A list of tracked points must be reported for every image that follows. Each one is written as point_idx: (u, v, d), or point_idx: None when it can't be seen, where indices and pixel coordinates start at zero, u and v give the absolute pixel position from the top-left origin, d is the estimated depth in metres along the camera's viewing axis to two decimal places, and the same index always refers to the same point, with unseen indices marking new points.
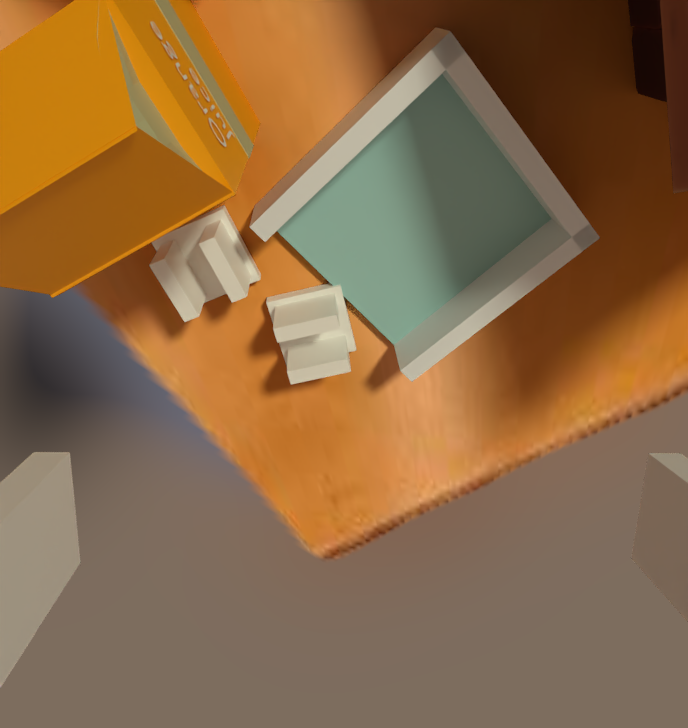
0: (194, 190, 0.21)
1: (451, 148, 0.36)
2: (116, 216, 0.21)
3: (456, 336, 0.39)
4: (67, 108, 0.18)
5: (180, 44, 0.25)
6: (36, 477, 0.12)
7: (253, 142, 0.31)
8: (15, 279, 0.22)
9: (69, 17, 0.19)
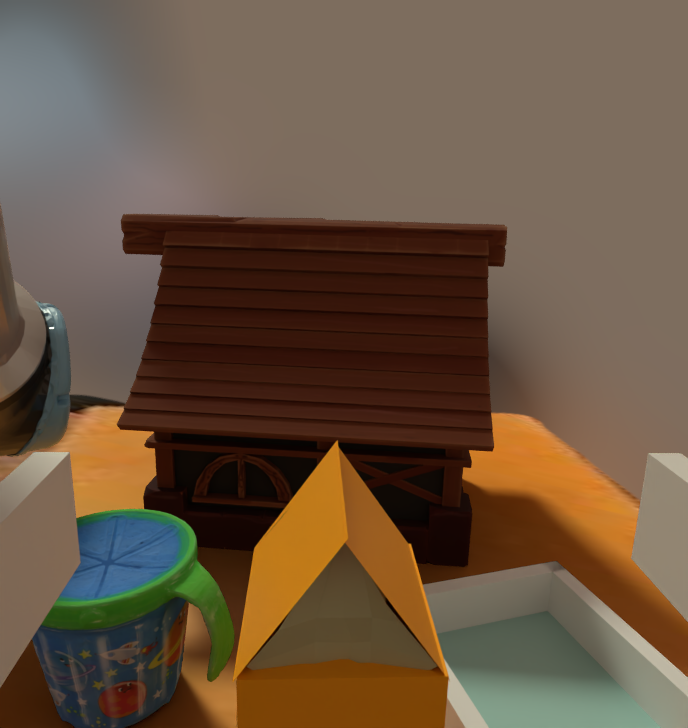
0: (393, 528, 0.29)
1: (471, 648, 0.43)
2: (385, 538, 0.26)
3: (647, 651, 0.38)
4: (307, 499, 0.27)
5: None
6: (36, 477, 0.12)
7: None
8: (405, 614, 0.22)
9: (259, 554, 0.28)
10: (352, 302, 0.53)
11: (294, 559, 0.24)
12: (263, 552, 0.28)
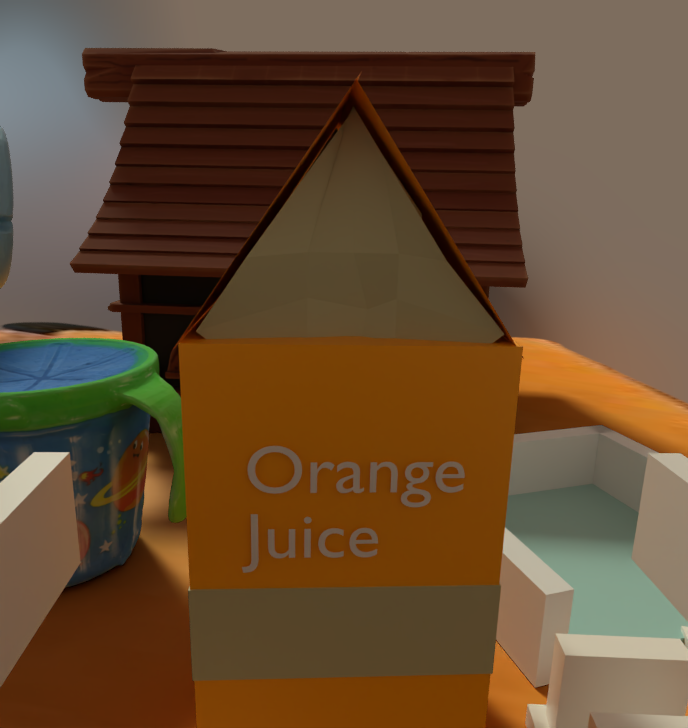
0: None
1: None
2: None
3: None
4: (296, 184, 0.19)
5: None
6: (36, 477, 0.12)
7: None
8: (452, 247, 0.14)
9: None
10: None
11: (275, 207, 0.15)
12: None
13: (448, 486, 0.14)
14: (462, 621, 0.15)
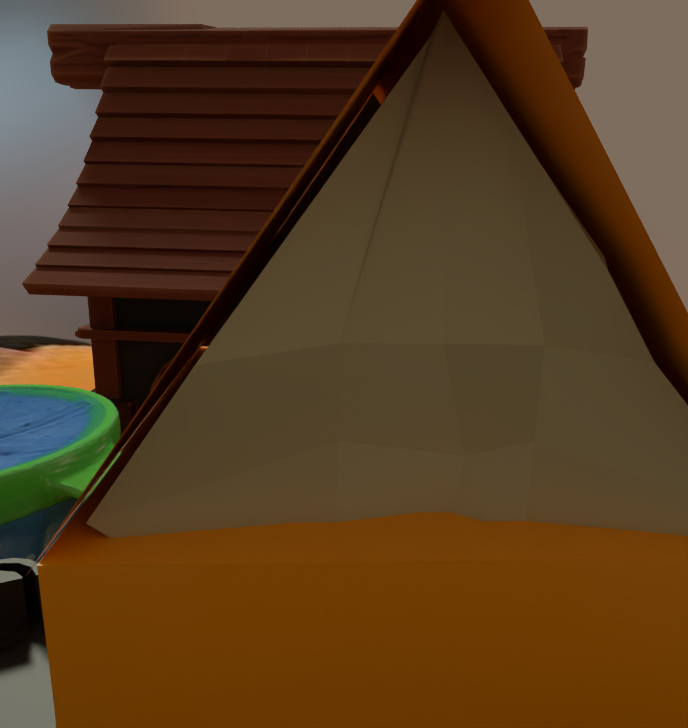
0: None
1: None
2: None
3: None
4: (306, 187, 0.11)
5: None
6: None
7: None
8: (668, 332, 0.06)
9: (199, 345, 0.12)
10: None
11: (269, 232, 0.08)
12: (206, 333, 0.12)
13: None
14: None
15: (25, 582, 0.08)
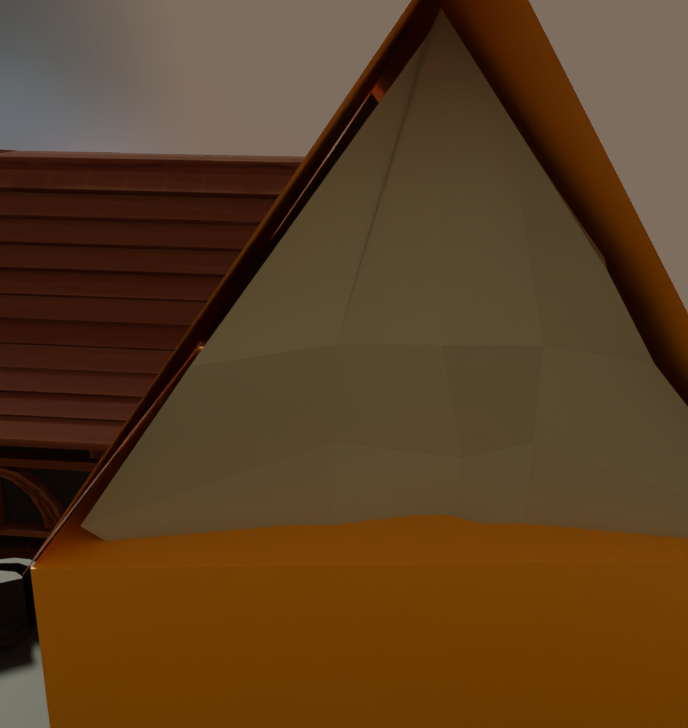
0: None
1: None
2: None
3: None
4: (304, 187, 0.11)
5: None
6: None
7: None
8: (668, 332, 0.06)
9: (196, 346, 0.12)
10: (139, 259, 0.39)
11: (266, 232, 0.08)
12: (204, 334, 0.12)
13: None
14: None
15: (25, 582, 0.08)
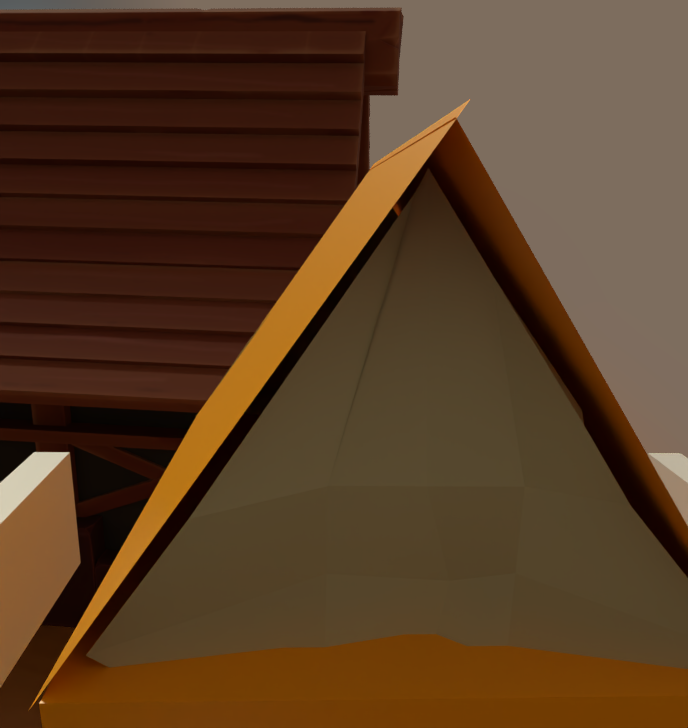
0: None
1: None
2: None
3: None
4: (305, 267, 0.11)
5: None
6: (37, 477, 0.12)
7: None
8: (643, 476, 0.06)
9: (201, 414, 0.13)
10: (104, 145, 0.28)
11: (265, 345, 0.08)
12: (207, 404, 0.12)
13: None
14: None
15: None
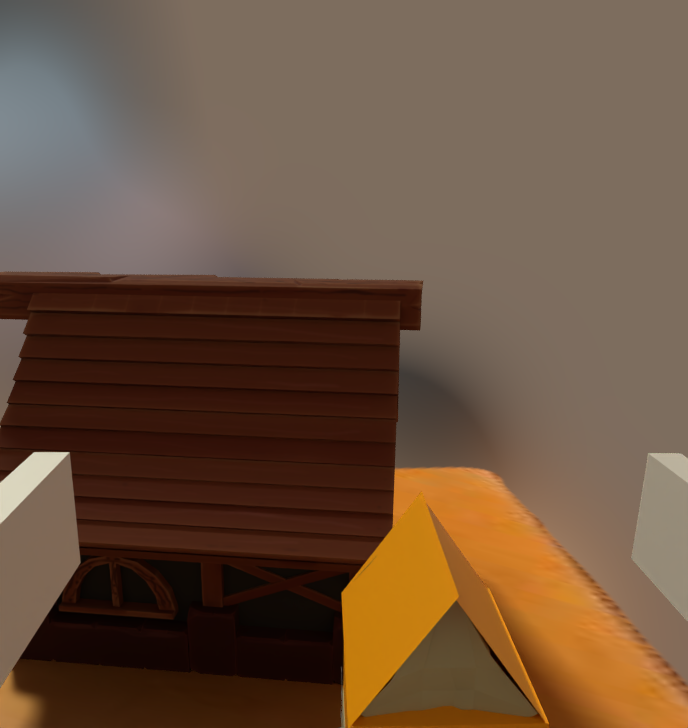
0: (474, 574, 0.31)
1: None
2: (474, 587, 0.28)
3: None
4: (397, 549, 0.29)
5: None
6: (36, 477, 0.12)
7: None
8: (507, 665, 0.23)
9: (349, 600, 0.30)
10: (241, 376, 0.45)
11: (396, 610, 0.25)
12: (354, 599, 0.30)
13: None
14: None
15: None
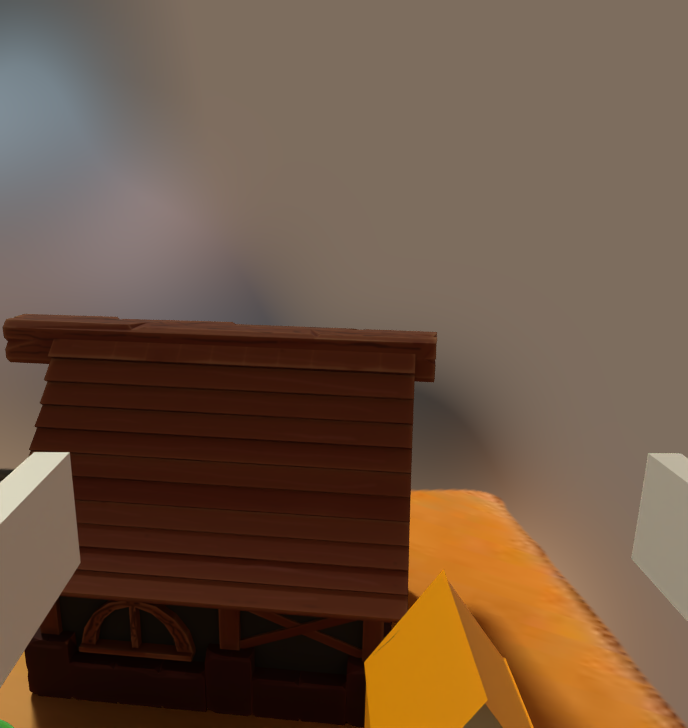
0: (492, 648, 0.32)
1: None
2: (494, 668, 0.29)
3: None
4: (420, 628, 0.30)
5: None
6: (36, 477, 0.12)
7: None
8: None
9: (373, 673, 0.31)
10: (259, 427, 0.47)
11: (423, 698, 0.27)
12: (378, 673, 0.31)
13: None
14: None
15: None
